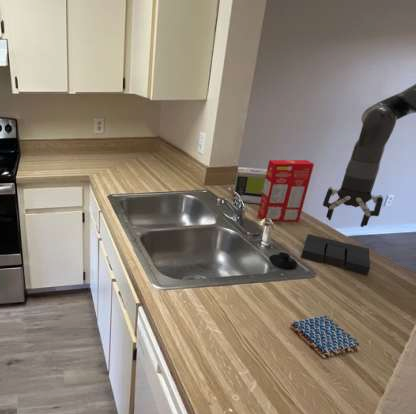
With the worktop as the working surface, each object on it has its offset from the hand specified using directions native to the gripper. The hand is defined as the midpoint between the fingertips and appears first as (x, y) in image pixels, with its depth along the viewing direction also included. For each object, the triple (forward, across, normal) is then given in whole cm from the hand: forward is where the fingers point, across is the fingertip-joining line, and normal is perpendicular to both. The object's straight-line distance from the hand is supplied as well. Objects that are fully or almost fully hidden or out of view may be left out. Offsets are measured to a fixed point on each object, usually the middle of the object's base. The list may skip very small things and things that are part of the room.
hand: (345, 222), depth 106 cm
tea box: (+14, -36, +40) cm, 56 cm away
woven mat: (+14, 0, -43) cm, 45 cm away
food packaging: (+14, -21, +24) cm, 35 cm away
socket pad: (+14, 0, +2) cm, 14 cm away
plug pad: (+14, 0, 0) cm, 14 cm away
